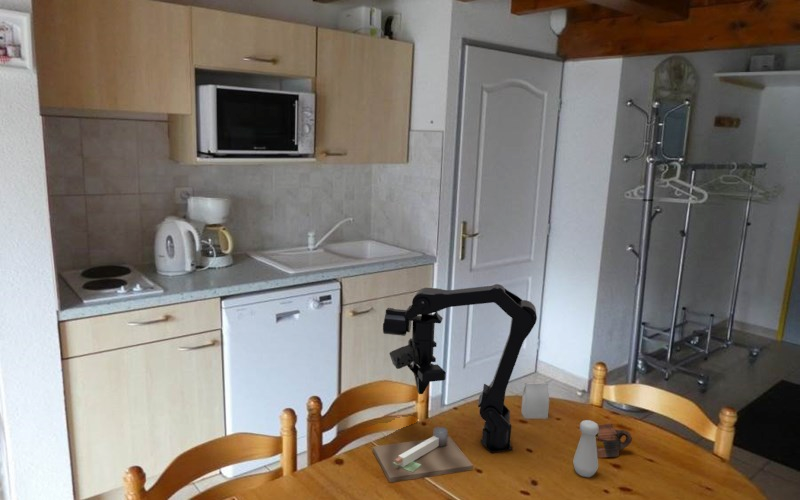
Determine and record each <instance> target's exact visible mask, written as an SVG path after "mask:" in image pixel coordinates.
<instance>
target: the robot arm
mask: <svg viewBox="0 0 800 500" xmlns="http://www.w3.org/2000/svg"><path fill="white" fill-rule="evenodd" d="M490 303H491V304H492V303H494V304H495V305H496V306H498V307H499V308H500V309H501V310H502V311H504V313H505V314H506V315H507V316H508V317H510V318H511V321H510V327H509V334H508V337H507V340H506V342H505V345H504V348H503V351H502V353H501V355H500V360H499V361H498V365H497V368H496V370H495V374H494V375H493V379H492V381H491V382H490V384H489V385H488V384H486V383H484V384H483V388H482V391H481V393H480V395H479V396H478V404H477V407H478V408H479V416H480V417H481V419H482V420H483V421H485V422H484V424H483V425H484V427H483V428H482V433H481V438H480V443H481V444H482V445H483V446H484V447H485V448H486V449H487V450H488V452H490V453H491V454H492V453H500V452H509V451H512V450H514V447H513V445H511V439H512V438H511V436H512V435H511V434H512V424H511V411H510V409H509V407H507V406H506V404H505V398H506V391H507V388H508V385H509V382H510V380H511V377H512V374H513V371H514V369H515V366H516V363H517V360H518V357H519V355H520V351H521V348H522V347H523V343H524V341H525V340H526V339H527V337H528V336H529V334H530V333H531V332H532V330H533V328H534V326H535V325H536V323H537V319H538V316H537V309H536V306H535V305H534V303H533V302H531V301H529V300H526V299H522V298H521V297H519V296H518V295H517V294H514V293H513V292H511V291H509V290H508V289H506V288H505V287H504V286H503V285H501V284H499V283H496V284H492V285H487V286H477V287H468V288H467V287H466V288H458V289H450V290H449V289H442V288H438V287H437V288H435V287H433V288H432V287H424V288H423V287H422V288H420V289H419V290H418V291H417V292H416V294H415V295H414V296H413V298H412V301H411V305H409V306H408V308H407V309H398V308H393V307H387V308H386V309H385V313H384V314H385V316H384V319H383V324H382V331H383V332H382V333H383V334H384V335H392V336H402V337H403V336H404V337H406V335H407V333H411V335H412V337H411V338H409V339H408V342H407V343H408V344H407V345H405V346H401V347H398V348H396V349H394V350H392V351H390V352H389V356H390V360H391V361H392V365H393V366H394V367H395V368H396V369H397V370H399V369H403V368H406V367H408V369H409V370H410V371H411V372H412V373H413V376H414V380H415V385H416V389H417V393H418V394H419V395H423V394H424V393H425V391H426V390H427V388H428V386H429V384H430V383H431V382H440V381H441V382H442V381H446V376H447V375H446V372H447V371H445V370H444V369H443V368H442V367H441V366H440V364H438V363H437V364H434V363H436V362H437V360H436V359H437V358H436V357H435V356H434V352H435V351H434V348H437V342H436V341H435V330H436V329H435V326H436V325H435V324H441V323H442V321H443V319H444V318H443V317H442V316H441V315H440V314H439V312H440V311H442V310H445V309H447V308H451V307H463V306H470V305H471V306H472V305H473V306H474V305H482V304H490ZM411 329H412V332H411Z"/></svg>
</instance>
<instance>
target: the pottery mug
mask: <svg viewBox="0 0 800 500" xmlns="http://www.w3.org/2000/svg"><path fill="white" fill-rule="evenodd" d="M597 425H598V427H599V431H598V433H597V434H596V437H597V439H598V440H599V441H600V442H602V443H603V446H604V447H601V448H600V447H599V448H597V457H598V459H600V458H605V459H606V458H617V457H619V454H620V452H621V451H622V450H623V449H625V448H627V447H629V446H630V444H631V443H632V441H633V437H632V434H631V433H630V432H629V431H628V430H625V429H624V430H623V429H620V430H617V429H615V428H614V425H613V423H611V422H610V423H609V422H608V423H601V424H599V423H598V424H597ZM623 436H625V440H624V441H623V442H622V440H621V439H622V437H623Z"/></svg>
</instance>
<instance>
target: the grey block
mask: <svg viewBox="0 0 800 500" xmlns="http://www.w3.org/2000/svg"><path fill="white" fill-rule="evenodd" d="M549 406H550V393H549V383H547V382H546V383H545V382H540V383H539V382H536V383H535V382H534V383H533V382H531V383H530V382H525V383H524V388H523V391H522V398H521V411H520V413H521V415H522V417H523V418H524V419H528V420H531V419H532V420H535V419H538V420H539V419H543V420H544V419H545V420H548V418H549Z"/></svg>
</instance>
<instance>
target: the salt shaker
mask: <svg viewBox="0 0 800 500" xmlns="http://www.w3.org/2000/svg"><path fill="white" fill-rule="evenodd" d="M598 425H599V424H598V423H596V422H595V421H593V420H589V419H585V420H582V421H581V422H580V423H579V431H580V432H581V434H580V437H579V438H580V439H579V442H578V444H577V448H576V451H575V452H574V453H575V454H574V457H573V461H572V462H573V468H574V470H575V473H576V474H577V475H579V476H580V477H584V478H591V477H593V476H594V475H595V474H596V472H597V470H598V468H599V461H598V459H599V457H598V452H597V449H598V446H597V438H596V437H597V436H596V434H597V433H598V431H599V427H598Z"/></svg>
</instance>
